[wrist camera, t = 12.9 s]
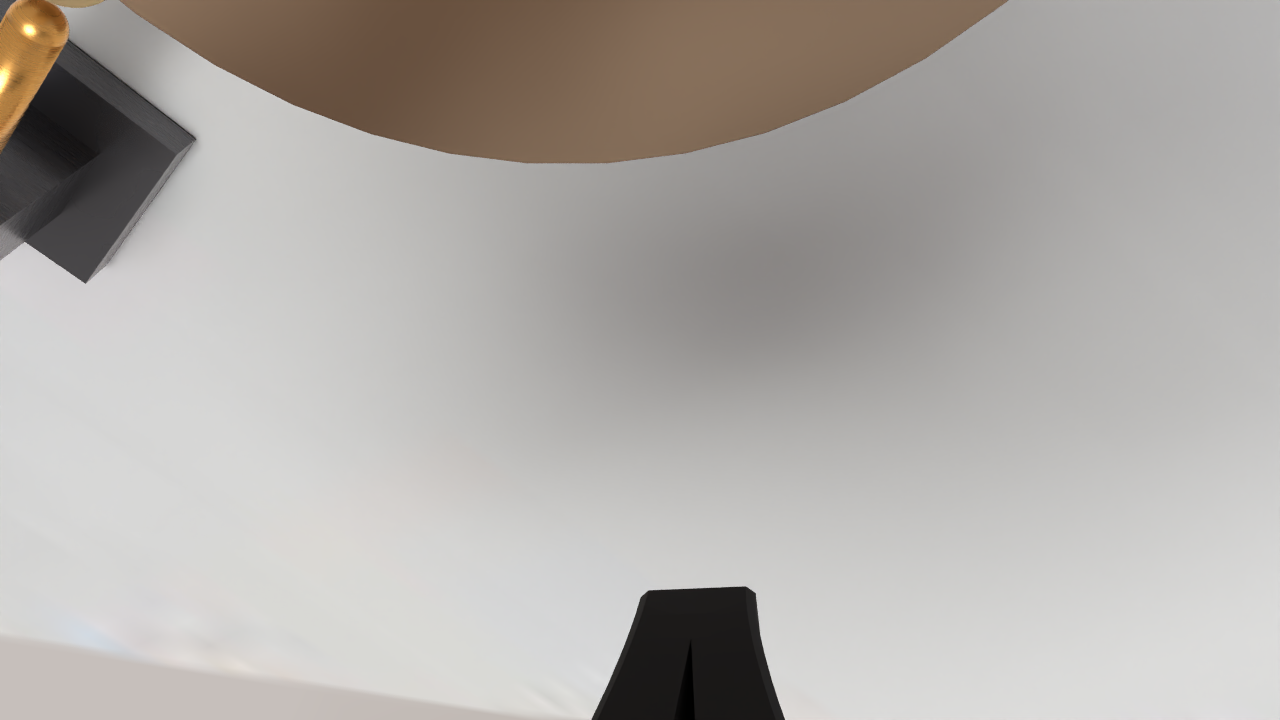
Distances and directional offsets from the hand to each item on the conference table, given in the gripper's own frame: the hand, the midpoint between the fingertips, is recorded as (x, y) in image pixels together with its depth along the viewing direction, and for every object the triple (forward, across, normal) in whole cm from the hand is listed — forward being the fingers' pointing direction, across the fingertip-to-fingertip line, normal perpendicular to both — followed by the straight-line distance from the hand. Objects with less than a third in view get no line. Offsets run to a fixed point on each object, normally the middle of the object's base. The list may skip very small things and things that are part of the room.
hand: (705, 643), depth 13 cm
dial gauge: (+9, +12, -5) cm, 16 cm away
